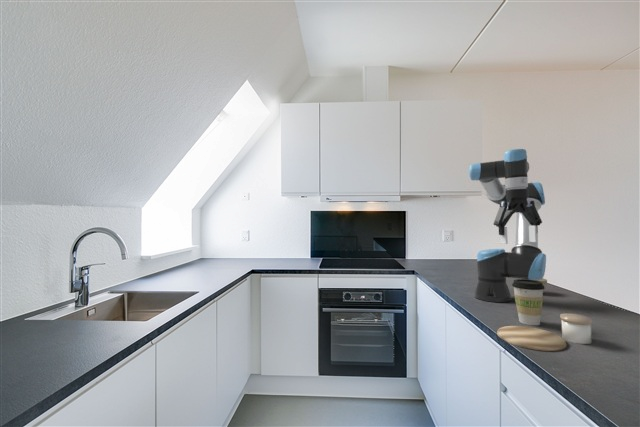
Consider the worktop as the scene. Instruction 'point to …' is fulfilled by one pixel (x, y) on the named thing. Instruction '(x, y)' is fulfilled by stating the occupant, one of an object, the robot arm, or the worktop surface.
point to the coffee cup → (528, 300)
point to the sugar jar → (576, 328)
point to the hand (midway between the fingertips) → (518, 242)
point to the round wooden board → (531, 338)
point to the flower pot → (543, 282)
